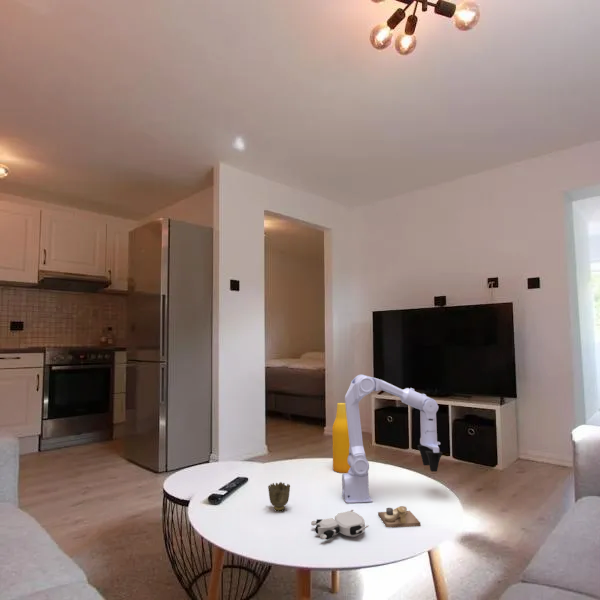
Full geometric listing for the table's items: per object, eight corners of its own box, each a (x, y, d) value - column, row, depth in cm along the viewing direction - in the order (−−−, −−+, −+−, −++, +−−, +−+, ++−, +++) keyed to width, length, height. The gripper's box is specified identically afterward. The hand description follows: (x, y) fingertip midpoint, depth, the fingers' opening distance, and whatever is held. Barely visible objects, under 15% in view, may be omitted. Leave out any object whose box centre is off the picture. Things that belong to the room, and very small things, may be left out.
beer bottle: (339, 466, 194) (338, 401, 197) (357, 469, 189) (355, 403, 192) (328, 471, 187) (327, 404, 190) (347, 474, 182) (346, 405, 185)
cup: (294, 509, 144) (294, 485, 145) (279, 516, 139) (279, 490, 139) (279, 504, 149) (279, 480, 150) (263, 510, 144) (263, 485, 144)
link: (391, 522, 130) (391, 517, 130) (382, 519, 132) (382, 514, 132) (409, 513, 137) (409, 507, 137) (400, 510, 139) (400, 505, 139)
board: (386, 527, 129) (386, 512, 129) (378, 515, 138) (377, 501, 139) (420, 526, 130) (419, 511, 130) (409, 513, 139) (409, 499, 140)
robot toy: (322, 550, 118) (372, 539, 121) (320, 533, 118) (370, 522, 122) (310, 531, 129) (355, 521, 133) (308, 516, 130) (354, 506, 134)
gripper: (446, 434, 150) (448, 473, 149) (432, 426, 165) (433, 462, 163) (427, 434, 150) (428, 474, 148) (414, 426, 164) (415, 462, 163)
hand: (430, 468), depth 156 cm, fingers open, 7 cm apart
